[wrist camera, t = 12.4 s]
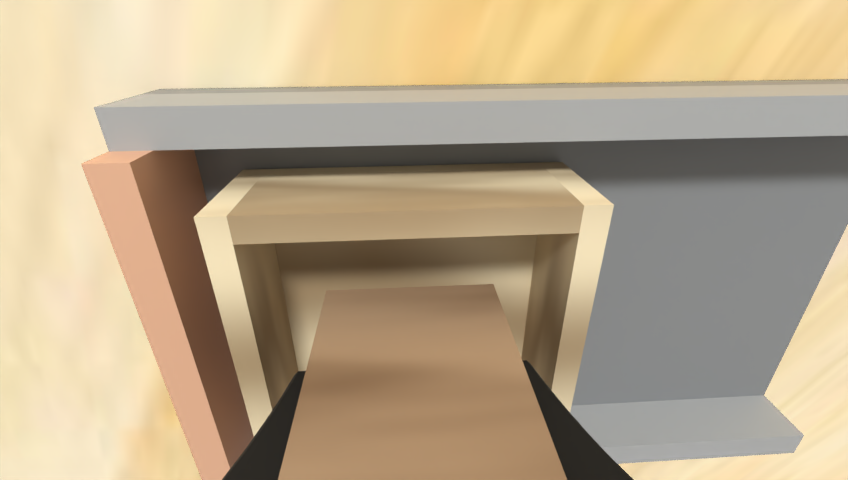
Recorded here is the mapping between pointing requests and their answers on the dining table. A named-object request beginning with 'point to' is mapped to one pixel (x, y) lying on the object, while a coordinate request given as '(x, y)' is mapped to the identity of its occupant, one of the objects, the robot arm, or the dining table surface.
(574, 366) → the crate
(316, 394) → the walnut block
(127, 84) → the dining table surface
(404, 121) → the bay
